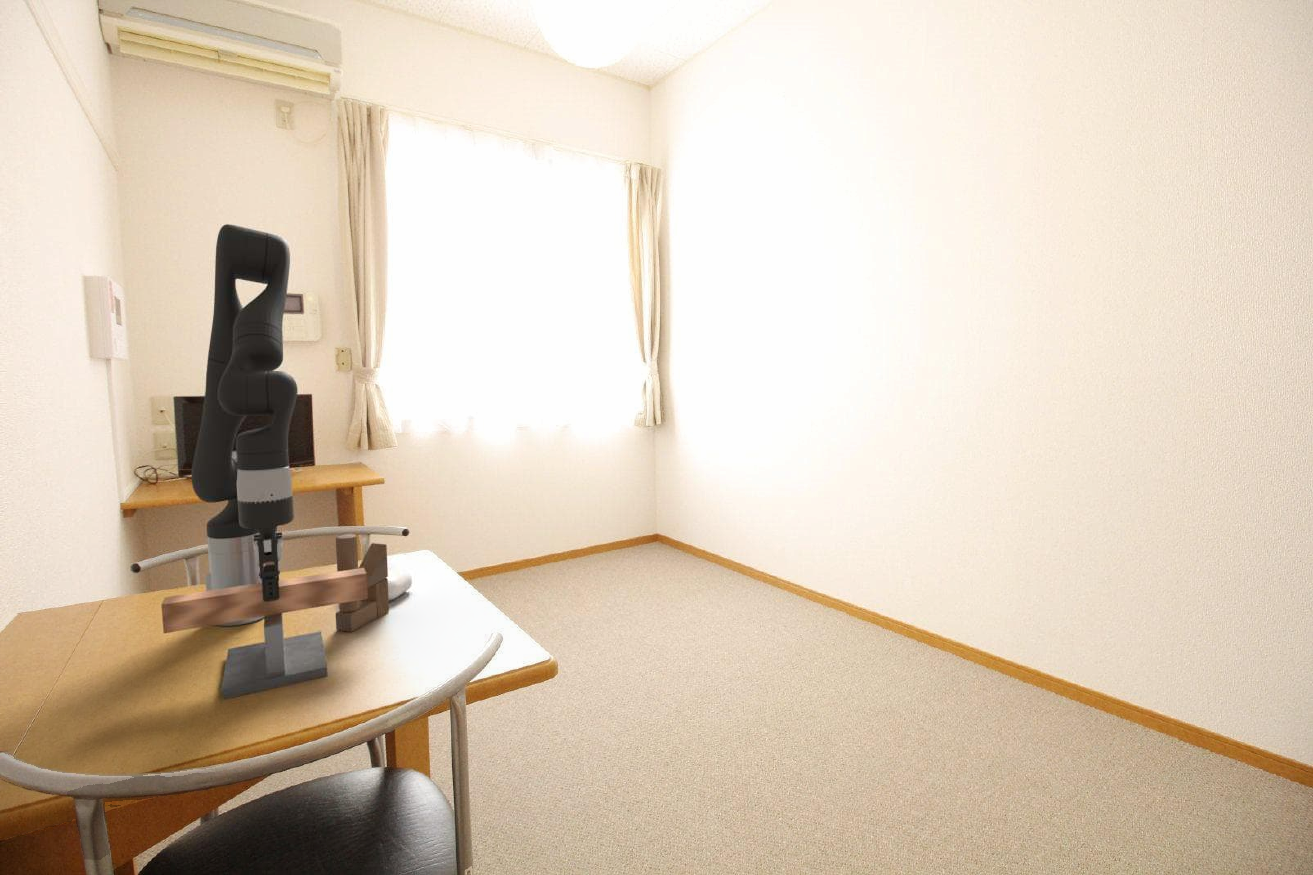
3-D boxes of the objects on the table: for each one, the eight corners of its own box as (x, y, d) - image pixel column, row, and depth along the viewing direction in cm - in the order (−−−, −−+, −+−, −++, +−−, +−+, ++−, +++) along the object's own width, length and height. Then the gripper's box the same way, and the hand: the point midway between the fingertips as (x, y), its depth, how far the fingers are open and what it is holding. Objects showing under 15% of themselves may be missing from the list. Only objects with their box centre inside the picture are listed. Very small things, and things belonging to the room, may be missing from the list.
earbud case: (393, 606, 129) (392, 581, 129) (335, 603, 131) (334, 579, 130) (417, 589, 139) (417, 566, 139) (363, 587, 141) (362, 564, 140)
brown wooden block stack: (390, 611, 126) (386, 525, 124) (351, 633, 116) (346, 539, 114) (374, 609, 127) (370, 524, 125) (335, 631, 117) (330, 538, 115)
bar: (163, 633, 93) (161, 604, 92) (167, 625, 96) (164, 597, 95) (367, 598, 107) (366, 573, 107) (365, 592, 110) (363, 567, 110)
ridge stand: (327, 675, 99) (324, 618, 98) (221, 699, 92) (217, 638, 91) (321, 639, 113) (318, 588, 112) (228, 657, 106) (224, 603, 105)
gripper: (293, 500, 95) (299, 601, 97) (291, 485, 107) (296, 576, 109) (234, 505, 91) (242, 611, 93) (239, 490, 104) (246, 583, 105)
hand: (271, 592), depth 101 cm, fingers open, 8 cm apart
